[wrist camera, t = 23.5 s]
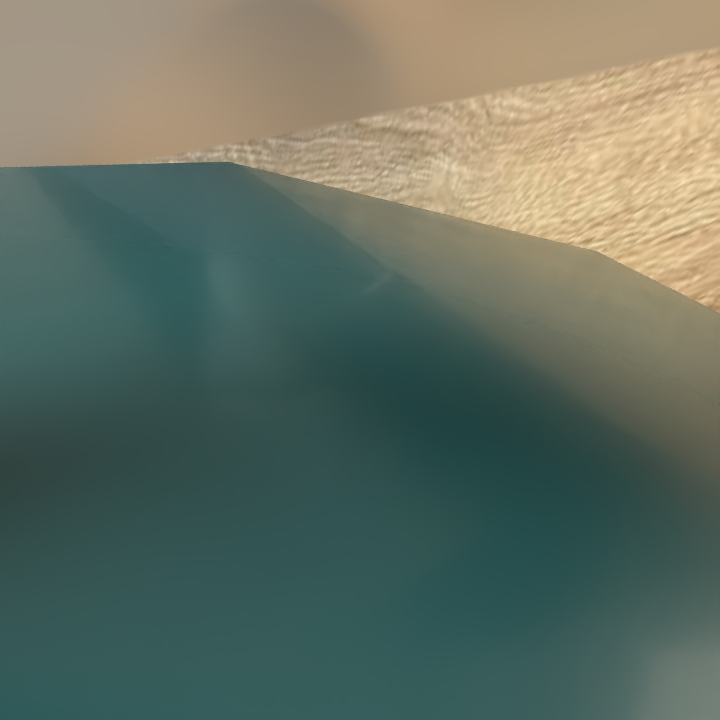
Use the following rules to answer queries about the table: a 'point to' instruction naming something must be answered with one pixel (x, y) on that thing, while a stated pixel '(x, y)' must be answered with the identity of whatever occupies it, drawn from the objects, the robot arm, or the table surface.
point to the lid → (343, 461)
